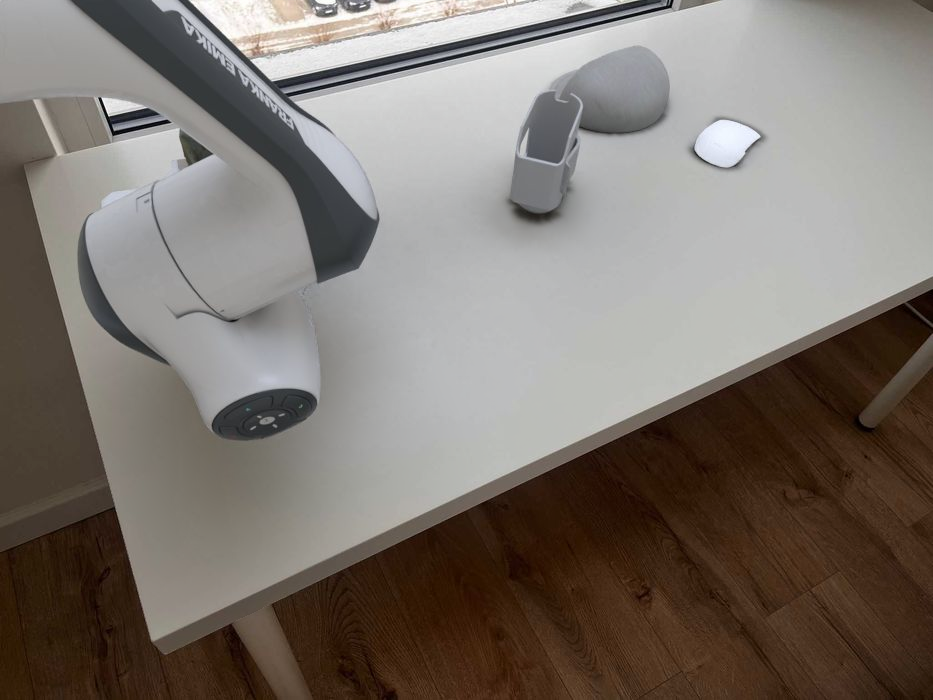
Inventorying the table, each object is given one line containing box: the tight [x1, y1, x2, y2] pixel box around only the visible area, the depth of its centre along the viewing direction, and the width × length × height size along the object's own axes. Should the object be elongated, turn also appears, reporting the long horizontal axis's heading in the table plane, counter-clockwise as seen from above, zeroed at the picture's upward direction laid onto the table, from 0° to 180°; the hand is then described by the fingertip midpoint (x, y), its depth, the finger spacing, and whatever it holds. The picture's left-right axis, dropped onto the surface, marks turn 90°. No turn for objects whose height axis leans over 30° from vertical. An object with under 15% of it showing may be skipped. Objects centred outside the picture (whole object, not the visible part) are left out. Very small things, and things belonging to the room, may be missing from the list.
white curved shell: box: [694, 119, 761, 169], centre depth 100 cm, size 7×12×2 cm, turn 143°
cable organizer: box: [509, 89, 583, 215], centre depth 86 cm, size 7×12×12 cm, turn 162°
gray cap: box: [549, 44, 671, 134], centre depth 104 cm, size 19×7×16 cm
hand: (224, 159), depth 65 cm, fingers closed on figurine, 6 cm apart
